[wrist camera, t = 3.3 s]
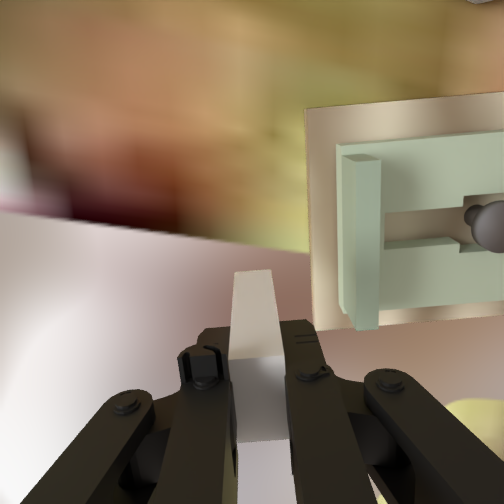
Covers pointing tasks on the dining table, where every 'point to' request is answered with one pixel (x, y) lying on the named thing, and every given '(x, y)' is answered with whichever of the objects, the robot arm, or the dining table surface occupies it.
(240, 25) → the dining table surface
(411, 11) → the dining table surface
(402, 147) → the panel
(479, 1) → the digital clock
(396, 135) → the board
